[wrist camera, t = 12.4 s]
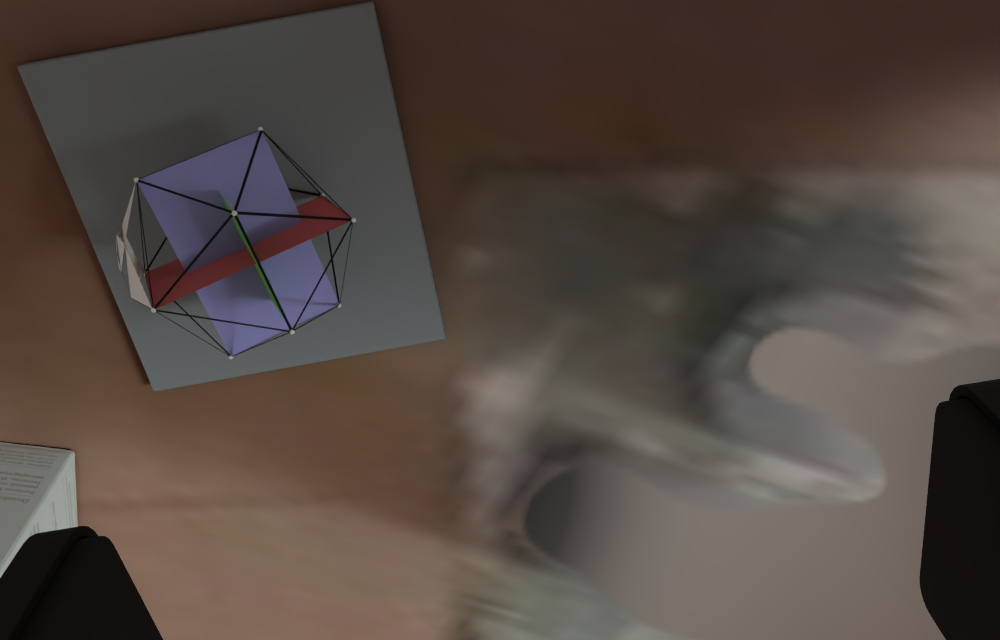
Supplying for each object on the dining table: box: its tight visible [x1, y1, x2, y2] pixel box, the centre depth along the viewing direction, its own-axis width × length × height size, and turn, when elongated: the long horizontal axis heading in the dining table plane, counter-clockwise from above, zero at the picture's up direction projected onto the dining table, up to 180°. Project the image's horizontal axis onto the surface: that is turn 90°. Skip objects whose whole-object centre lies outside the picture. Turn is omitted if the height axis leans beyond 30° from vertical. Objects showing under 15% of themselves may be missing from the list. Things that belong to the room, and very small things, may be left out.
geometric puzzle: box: [116, 127, 356, 359], centre depth 28 cm, size 7×7×8 cm
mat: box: [17, 1, 445, 391], centre depth 31 cm, size 12×13×1 cm
